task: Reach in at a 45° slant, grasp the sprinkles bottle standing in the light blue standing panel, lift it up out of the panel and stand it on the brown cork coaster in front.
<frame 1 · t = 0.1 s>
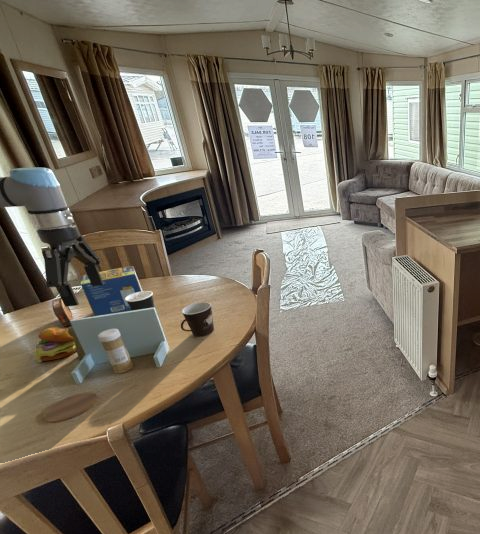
hand: (85, 294, 101), 22 cm above the table, tool pointing down, fingers open, 13 cm apart
coaster: (72, 407, 90), on the table
dixie cup: (148, 321, 128), on the table
protein box: (122, 309, 136), on the table
cork: (91, 354, 110), on the table
coffee mug: (199, 334, 122), on the table
cheeseburger: (62, 352, 110), on the table
light blue standing panel: (124, 369, 104), on the table
tin: (67, 321, 127), on the table
sprinkles bottle: (124, 369, 104), on the table
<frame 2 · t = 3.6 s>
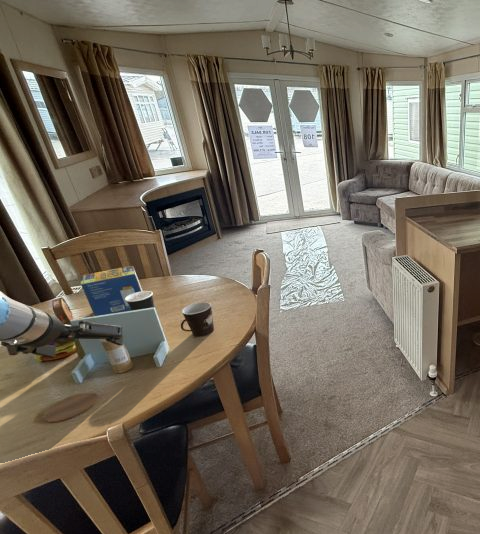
hand: (88, 346, 89), 16 cm above the table, tool tilted 45°, fingers open, 13 cm apart
nothing on the table moved.
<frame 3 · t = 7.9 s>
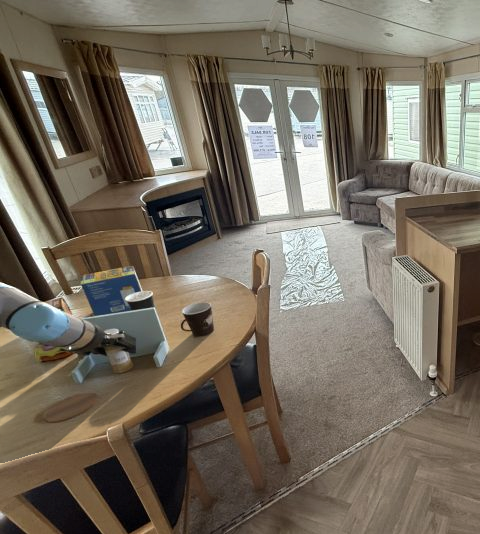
hand: (124, 351, 105), 4 cm above the table, tool tilted 45°, fingers closed on sprinkles bottle, 4 cm apart
sprinkles bottle: (124, 369, 104), on the table, touching gripper
everything else where it was.
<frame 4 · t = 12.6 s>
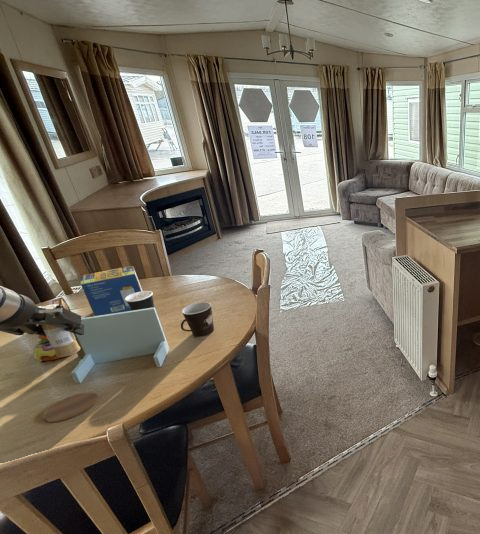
hand: (69, 332, 90), 18 cm above the table, tool tilted 45°, fingers closed on sprinkles bottle, 4 cm apart
sprinkles bottle: (69, 353, 89), point 14 cm above the table, touching gripper
everything else where it was.
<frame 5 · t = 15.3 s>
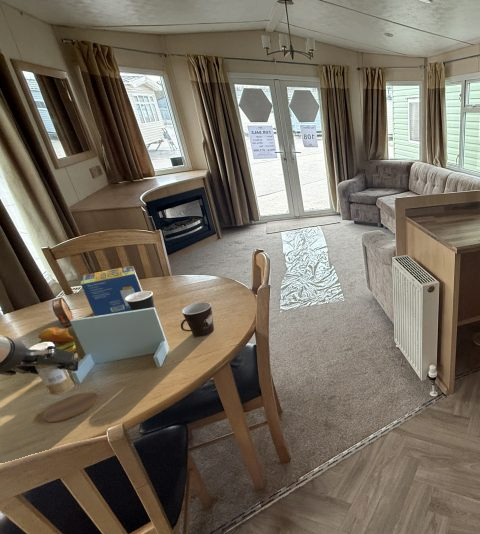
hand: (63, 368, 89), 10 cm above the table, tool tilted 45°, fingers closed on sprinkles bottle, 4 cm apart
sprinkles bottle: (62, 390, 87), point 6 cm above the table, touching gripper
everything else where it was.
when the fingers open (4 cm above the table, at t = 17.2 s): sprinkles bottle stays where it is, resting on coaster.
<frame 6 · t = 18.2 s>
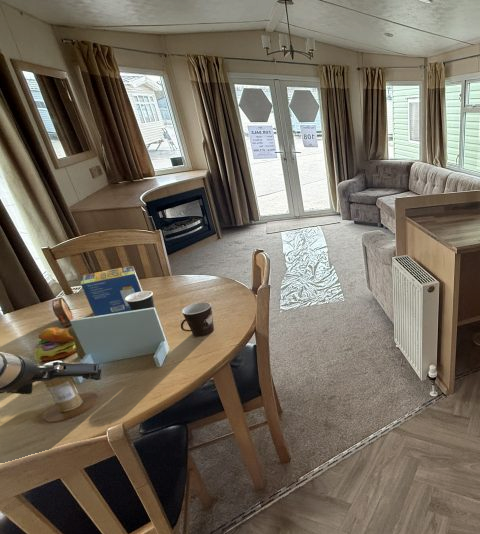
hand: (65, 381, 89), 7 cm above the table, tool tilted 45°, fingers open, 13 cm apart
sprinkles bottle: (71, 406, 89), resting on coaster
everything else where it was.
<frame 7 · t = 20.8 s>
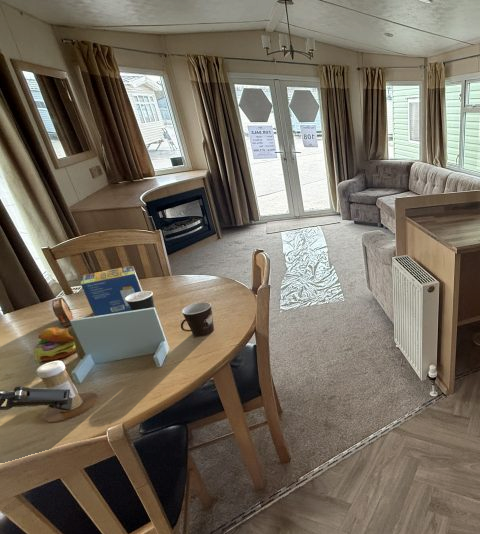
hand: (29, 412, 77), 9 cm above the table, tool tilted 40°, fingers open, 13 cm apart
nothing on the table moved.
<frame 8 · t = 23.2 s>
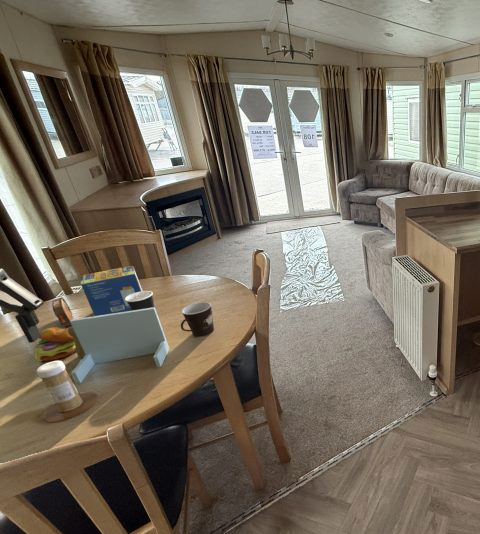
nothing on the table moved.
at the end: sprinkles bottle 0.1 cm from the target spot, resting on coaster; sprinkles bottle tilted 0°; sprinkles bottle touching coaster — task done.
